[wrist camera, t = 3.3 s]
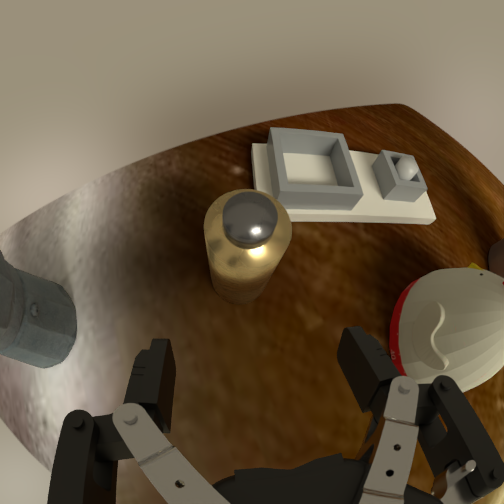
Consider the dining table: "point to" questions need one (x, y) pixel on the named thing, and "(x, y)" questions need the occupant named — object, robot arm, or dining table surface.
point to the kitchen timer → (450, 327)
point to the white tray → (338, 180)
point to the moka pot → (34, 318)
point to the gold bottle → (245, 242)
